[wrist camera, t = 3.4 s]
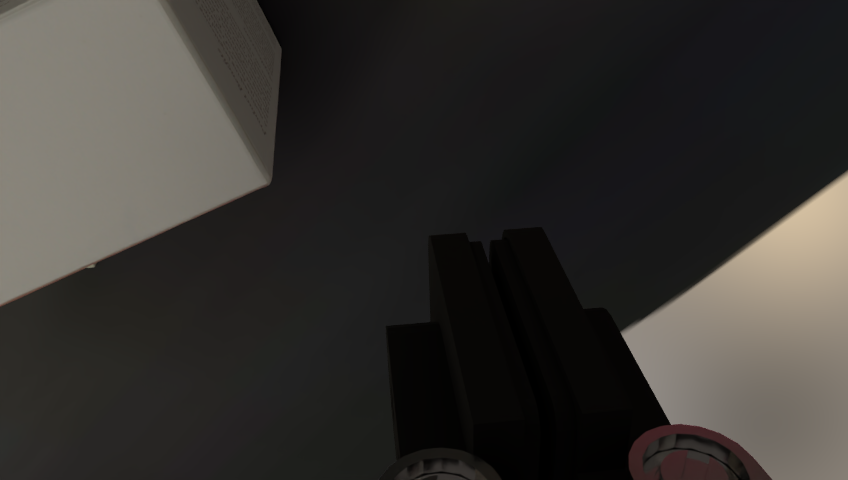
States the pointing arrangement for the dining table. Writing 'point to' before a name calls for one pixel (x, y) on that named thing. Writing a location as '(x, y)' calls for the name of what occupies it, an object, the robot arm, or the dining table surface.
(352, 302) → the dining table surface
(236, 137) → the small box
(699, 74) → the dining table surface
